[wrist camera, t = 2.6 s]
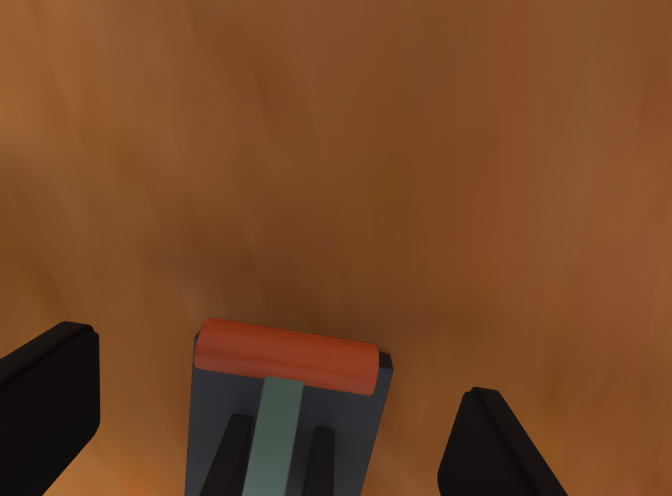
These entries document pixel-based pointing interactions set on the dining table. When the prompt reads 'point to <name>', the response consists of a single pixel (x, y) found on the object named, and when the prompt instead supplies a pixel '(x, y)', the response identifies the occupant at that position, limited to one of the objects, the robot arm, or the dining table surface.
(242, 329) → the switch lever
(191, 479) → the two-post lever stand
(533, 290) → the dining table surface
